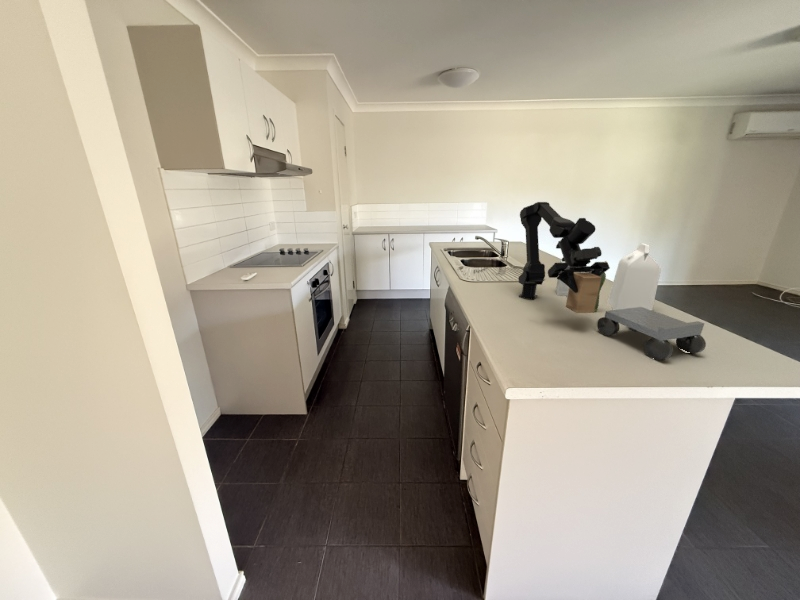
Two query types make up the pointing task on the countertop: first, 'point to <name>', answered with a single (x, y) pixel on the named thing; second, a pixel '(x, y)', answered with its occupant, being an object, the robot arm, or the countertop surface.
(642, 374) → the countertop surface
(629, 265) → the milk
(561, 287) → the skincare box
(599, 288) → the vegetable
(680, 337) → the trolley
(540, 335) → the countertop surface
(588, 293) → the block
